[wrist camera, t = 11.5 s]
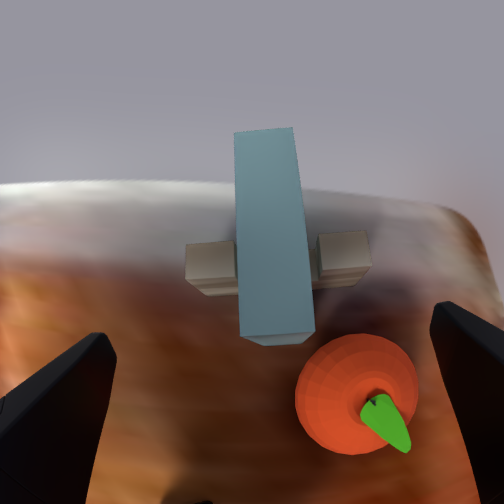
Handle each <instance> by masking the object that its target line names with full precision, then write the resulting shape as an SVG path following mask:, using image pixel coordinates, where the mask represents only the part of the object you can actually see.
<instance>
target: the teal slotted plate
mask: <svg viewBox="0 0 504 504" xmlns="http://www.w3.org/2000/svg"><path fill="white" fill-rule="evenodd" d="M234 154H235V197H236V234H237V266H238V295H239V322H240V337H243V338H245V339H248V340H251V341H253V342H256V343H258V344H261V345H263V346H275V345H290V344H302V343H303V342H304V341H305V340H306V339H307V338H309V337H310V336H311V335H312V334H313V333H314V332H315V321H314V308H313V296H312V284H311V273H310V263H309V253H308V243H307V234H306V225H305V216H304V208H303V200H302V192H301V185H300V177H299V169H298V161H297V154H296V148H295V141H294V134H293V128H292V127H291V128H278V129H267V130H255V131H246V132H237V133H234Z"/></svg>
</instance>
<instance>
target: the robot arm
mask: <svg viewBox="0 0 504 504" xmlns="http://www.w3.org/2000/svg"><path fill="white" fill-rule="evenodd" d="M430 337H431V340H432V343H433V347H434V350H435V354H436V357H437V361H438V364H439V368H440V372H441V375H442V379H443V382H444V385H445V388H446V390H447V393H448V396H449V398H450V401H451V404H452V407H453V409H454V412H455V415H456V418H457V421H458V424H459V427H460V430H461V433H462V436H463V439H464V443H465V446H466V449H467V452H468V456H469V459H470V463H471V466H472V470H473V474H474V477H475V481H476V485H477V489H478V493H479V498H480V502H481V504H504V331H503V330H501V329H499V328H497V327H496V326H494V325H492V324H490V323H489V322H487V321H485V320H483V319H481V318H480V317H478V316H476V315H474V314H473V313H471V312H469V311H467V310H465V309H463V308H462V307H460V306H458V305H456V304H454V303H453V302H451V301H445V302H440V303H437V304H436V305H435V307H434V310H433V315H432V319H431V324H430ZM116 363H117V356H116V353H115V351H114V349H113V347H112V345H111V343H110V341H109V339H108V337H107V335H106V334H105V333H102V332H94V333H91V334H89V335H88V336H86V337H85V338H83V339H82V340H81V341H79V342H78V343H76V344H75V345H74V346H72V347H71V348H69V349H68V350H67V351H65V352H64V353H62V354H61V355H60V356H58V357H57V358H55V359H54V360H53V361H51V362H50V363H48V364H47V365H46V366H44V367H43V368H42V369H40V370H39V371H37V372H36V373H35V374H33V375H32V376H31V377H29V378H28V379H26V380H25V381H24V382H22V383H21V384H20V385H18V386H17V387H16V388H14V389H13V390H11V391H10V392H9V393H7V394H6V396H3V397H2V398H1V399H0V504H85V503H86V498H87V493H88V488H89V483H90V478H91V474H92V469H93V465H94V461H95V456H96V452H97V448H98V444H99V440H100V436H101V432H102V428H103V425H104V421H105V417H106V414H107V410H108V406H109V401H110V395H111V389H112V384H113V378H114V373H115V368H116ZM195 504H213V503H212V502H210V501H202V502H199V503H195Z"/></svg>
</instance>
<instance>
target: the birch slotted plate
mask: <svg viewBox="0 0 504 504" xmlns="http://www.w3.org/2000/svg"><path fill="white" fill-rule="evenodd" d="M308 253H309V263H310V273H311V284H312V289H324V288H336V287H347V286H355V285H356V284H357V282H358V281H359V280H360V279H361V278H362V277H363V276H364V274H365V273H366V272H367V271H368V270H369V269H370V267H371V266H372V262H371V255H370V249H369V243H368V237H367V231H352V232H338V233H325V234H318V239H317V243H316V248H315V249H308ZM185 280H187V281H188V282H189V283H191V284H192V285H193V286H194V287H196V288H197V289H198V290H200V291H201V292H202V293H204V294H205V295H206V296H226V295H238V266H237V247H236V245H235V242H234V241H223V242H211V243H199V244H187V245H186V270H185Z"/></svg>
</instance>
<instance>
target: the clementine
mask: <svg viewBox="0 0 504 504" xmlns="http://www.w3.org/2000/svg"><path fill="white" fill-rule="evenodd" d="M417 401H418V378H417V374H416V371H415V367H414V365H413V363H412V362H411V360H410V358H409V357H408V355H407V354H406V353H405V352H404V351H403V350H402V349H401V348H400V347H399V346H398V345H397V344H395V343H393V342H391V341H389V340H387V339H385V338H383V337H380V336H375V335H370V334H365V333H361V334H348V335H345V336H342V337H339V338H336V339H333V340H332V341H330V342H329V343H327V344H325V345H324V346H322V347H321V348H319V349H318V350H317V351H316V352H315V353H314V354H313V356H312V357H311V358H310V359H309V360H308V361H307V363H306V364H305V366H304V368H303V370H302V371H301V373H300V375H299V379H298V382H297V386H296V390H295V407H296V411H297V414H298V418H299V421H300V423H301V424H302V426H303V428H304V429H305V431H306V432H307V434H308V435H309V436H310V437H311V438H313V439H314V440H315V441H316V442H317V443H318V444H320V445H321V446H322V447H324V448H326V449H329V450H331V451H333V452H336V453H341V454H349V455H355V454H363V453H369V452H371V451H374V450H376V449H379V448H382V447H384V446H385V445H387V444H388V443H390V444H391V445H393V446H394V447H396V448H397V449H399V450H400V451H402V452H404V453H407V452H408V451H409V450H410V447H411V442H410V438H409V434H408V431H407V428H406V427H407V426H408V424H409V422H410V420H411V418H412V416H413V415H414V413H415V409H416V405H417Z"/></svg>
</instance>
